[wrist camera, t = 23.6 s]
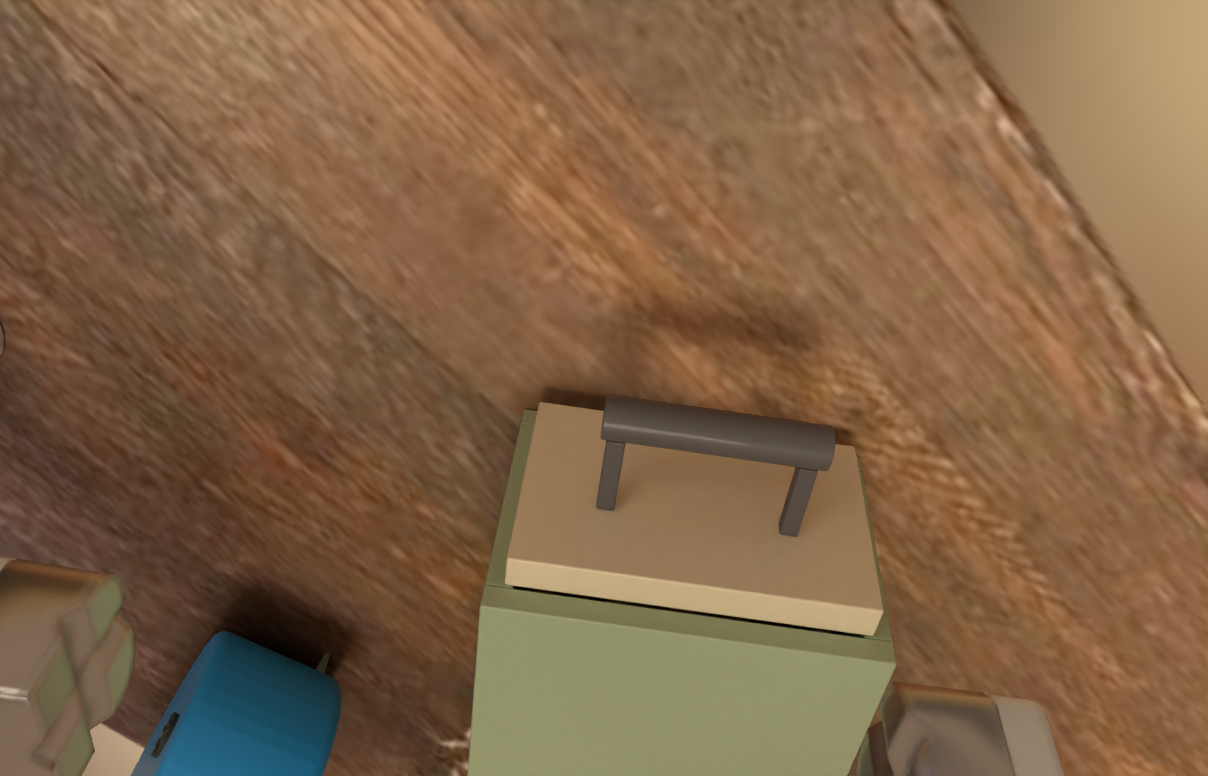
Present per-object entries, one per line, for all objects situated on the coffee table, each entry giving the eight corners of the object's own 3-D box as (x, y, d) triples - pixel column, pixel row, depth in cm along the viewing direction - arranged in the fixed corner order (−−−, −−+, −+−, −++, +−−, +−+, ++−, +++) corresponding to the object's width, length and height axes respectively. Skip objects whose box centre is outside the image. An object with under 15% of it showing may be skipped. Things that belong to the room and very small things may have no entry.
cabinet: (523, 408, 40) (479, 605, 32) (860, 456, 40) (897, 664, 32) (499, 673, 50) (460, 875, 42) (771, 711, 50) (783, 920, 42)
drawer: (549, 301, 36) (516, 451, 30) (888, 349, 36) (927, 509, 30) (512, 658, 47) (482, 822, 41) (770, 694, 47) (780, 863, 41)
